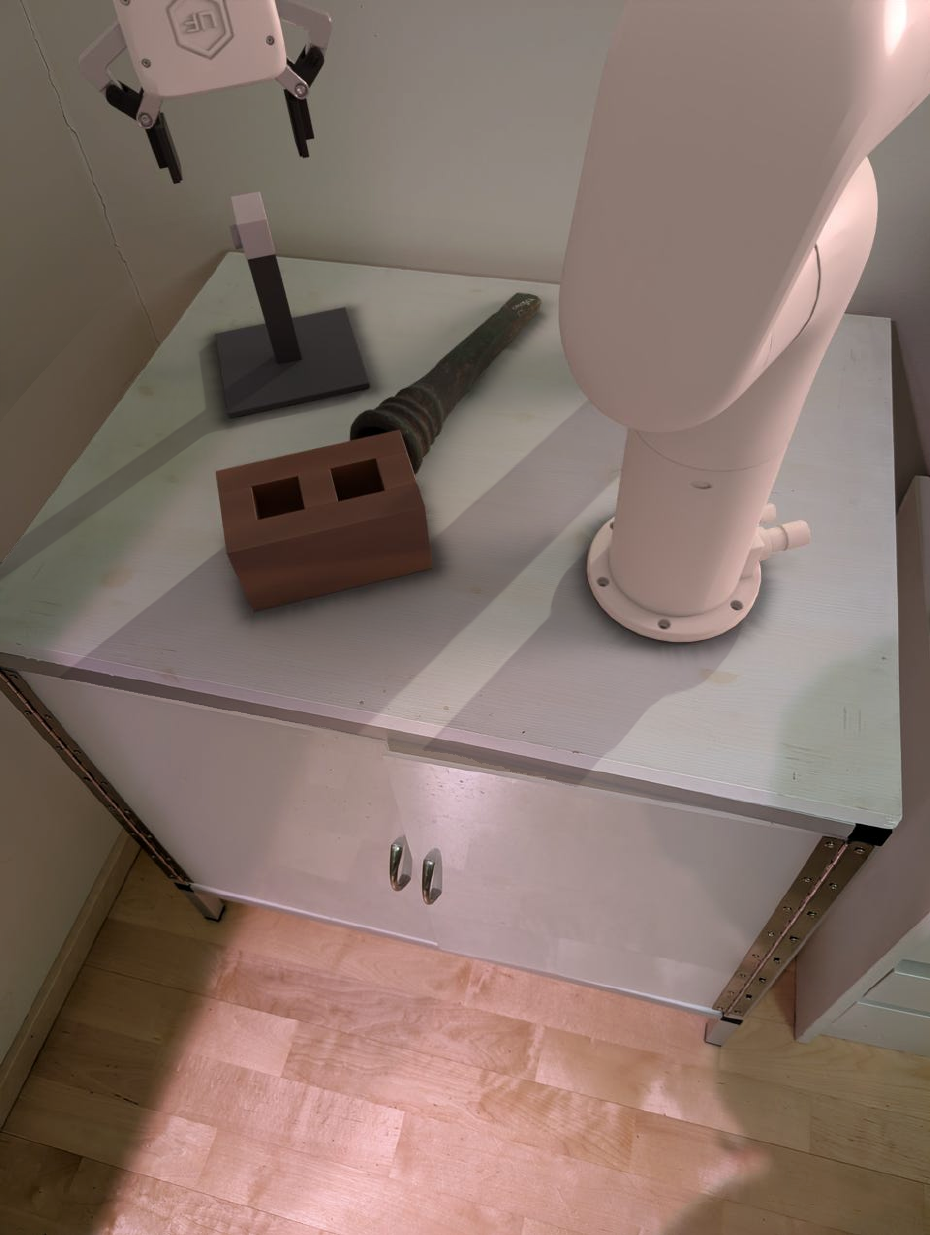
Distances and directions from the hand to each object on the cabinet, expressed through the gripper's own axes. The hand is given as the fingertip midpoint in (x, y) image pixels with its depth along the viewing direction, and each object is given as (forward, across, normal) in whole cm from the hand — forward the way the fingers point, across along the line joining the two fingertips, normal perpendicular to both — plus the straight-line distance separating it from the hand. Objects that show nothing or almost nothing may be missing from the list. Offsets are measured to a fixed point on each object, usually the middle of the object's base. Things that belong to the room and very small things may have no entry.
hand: (240, 162), depth 64 cm
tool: (+19, +14, -7) cm, 25 cm away
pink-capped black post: (+18, -1, +1) cm, 18 cm away
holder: (+19, 0, -23) cm, 30 cm away
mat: (+19, 0, +1) cm, 19 cm away
